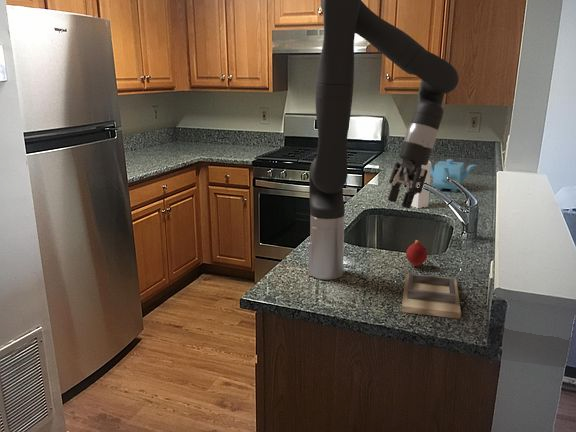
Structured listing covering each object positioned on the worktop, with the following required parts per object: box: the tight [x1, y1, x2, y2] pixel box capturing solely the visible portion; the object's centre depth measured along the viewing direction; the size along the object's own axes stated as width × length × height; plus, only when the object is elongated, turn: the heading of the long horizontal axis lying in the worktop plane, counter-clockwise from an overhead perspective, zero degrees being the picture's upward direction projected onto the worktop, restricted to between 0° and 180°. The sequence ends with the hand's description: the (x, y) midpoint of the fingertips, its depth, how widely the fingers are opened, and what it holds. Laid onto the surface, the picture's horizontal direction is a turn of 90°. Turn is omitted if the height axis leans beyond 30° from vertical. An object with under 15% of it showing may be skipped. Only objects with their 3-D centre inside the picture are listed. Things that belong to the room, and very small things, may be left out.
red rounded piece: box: [405, 239, 428, 268], centre depth 138 cm, size 6×6×8 cm
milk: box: [411, 160, 432, 209], centre depth 201 cm, size 6×6×22 cm
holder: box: [401, 273, 462, 320], centre depth 119 cm, size 13×20×4 cm, turn 164°
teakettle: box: [430, 158, 478, 193], centre depth 232 cm, size 19×19×15 cm
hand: (398, 204), depth 124 cm, fingers open, 8 cm apart
